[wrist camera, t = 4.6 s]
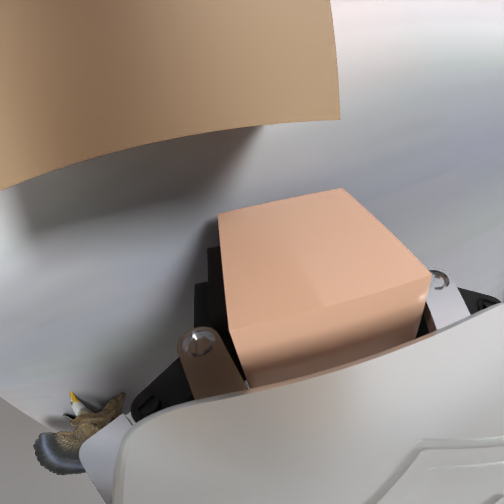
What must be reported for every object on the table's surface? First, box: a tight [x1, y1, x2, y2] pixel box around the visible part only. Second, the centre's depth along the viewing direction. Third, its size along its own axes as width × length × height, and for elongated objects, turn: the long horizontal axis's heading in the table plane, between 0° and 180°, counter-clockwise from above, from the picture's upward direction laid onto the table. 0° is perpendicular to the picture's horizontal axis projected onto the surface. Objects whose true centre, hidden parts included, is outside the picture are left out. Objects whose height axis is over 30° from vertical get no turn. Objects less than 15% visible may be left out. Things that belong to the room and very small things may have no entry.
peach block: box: [218, 188, 432, 389], centre depth 10 cm, size 5×5×6 cm
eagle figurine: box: [33, 391, 125, 475], centre depth 16 cm, size 8×7×9 cm
